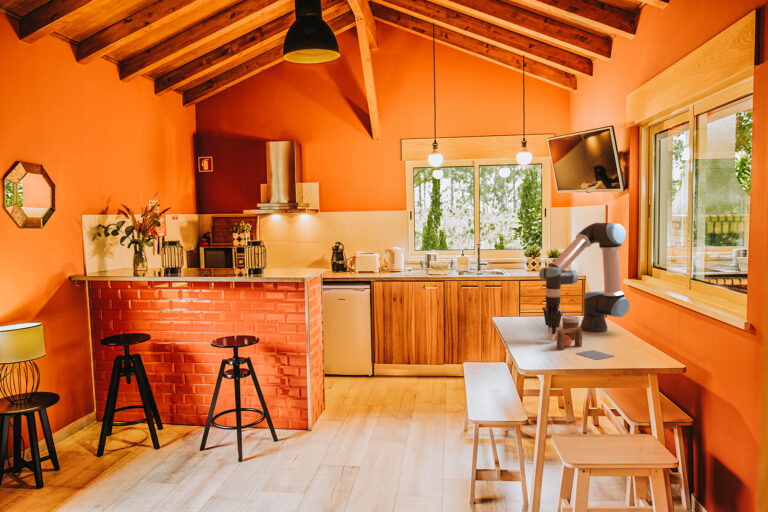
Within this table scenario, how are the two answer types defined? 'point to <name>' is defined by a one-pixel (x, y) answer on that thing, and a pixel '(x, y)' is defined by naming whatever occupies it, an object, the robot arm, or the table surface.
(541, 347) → the table surface
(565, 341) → the ball
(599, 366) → the table surface
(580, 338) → the bridge
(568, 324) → the disposable coffee cup
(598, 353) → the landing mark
